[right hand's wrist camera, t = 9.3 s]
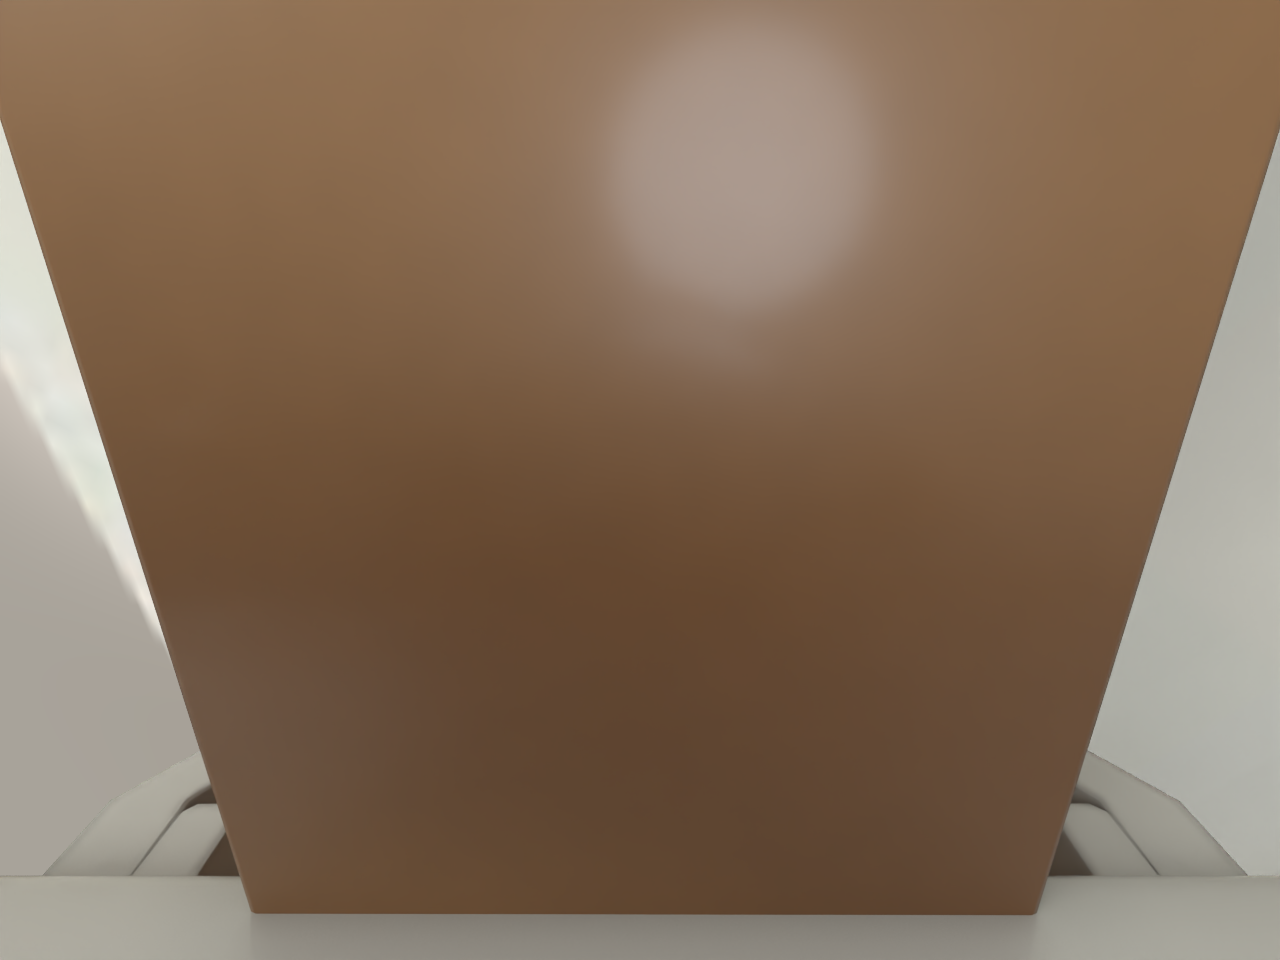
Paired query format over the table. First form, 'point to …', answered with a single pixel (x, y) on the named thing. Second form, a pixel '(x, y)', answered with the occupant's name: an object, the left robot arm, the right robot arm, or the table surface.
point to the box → (642, 418)
